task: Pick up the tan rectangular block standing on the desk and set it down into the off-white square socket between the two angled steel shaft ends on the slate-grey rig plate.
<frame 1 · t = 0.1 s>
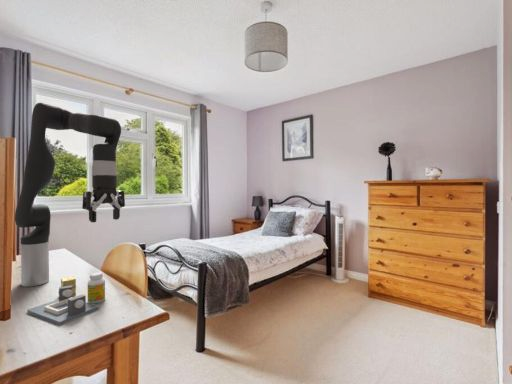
hand: (105, 220, 96), 29 cm above the table, tool pointing down, fingers open, 8 cm apart
supplement bottle: (96, 301, 99), on the table
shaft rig: (63, 310, 90), on the table
tan rectangular block: (68, 294, 104), on the table
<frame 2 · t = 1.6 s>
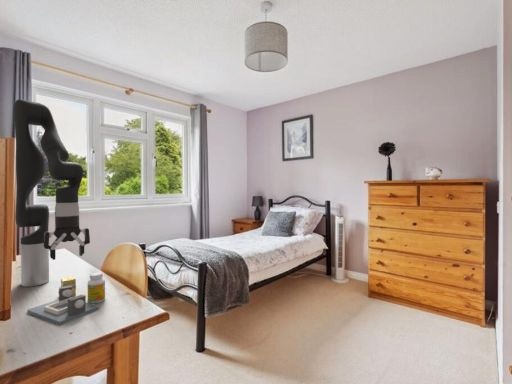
hand: (67, 257, 104), 14 cm above the table, tool pointing down, fingers open, 8 cm apart
nothing on the table moved.
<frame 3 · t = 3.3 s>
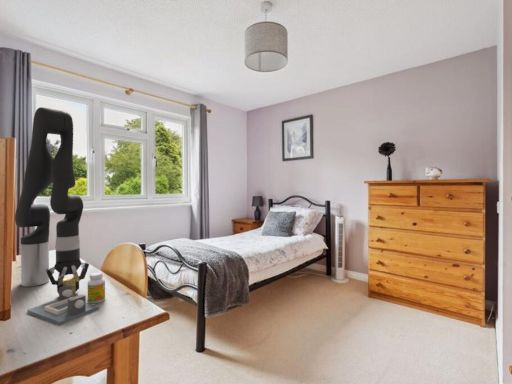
hand: (68, 292, 104), 1 cm above the table, tool pointing down, fingers closed on tan rectangular block, 4 cm apart
tan rectangular block: (68, 294, 104), on the table, touching gripper
everything else where it was.
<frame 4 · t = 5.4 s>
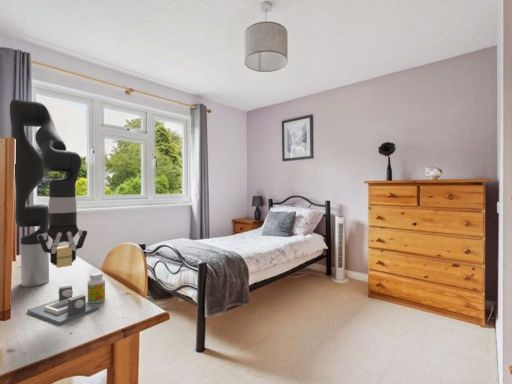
hand: (63, 262, 90), 16 cm above the table, tool pointing down, fingers closed on tan rectangular block, 4 cm apart
tan rectangular block: (63, 265, 90), point 15 cm above the table, touching gripper
everything else where it was.
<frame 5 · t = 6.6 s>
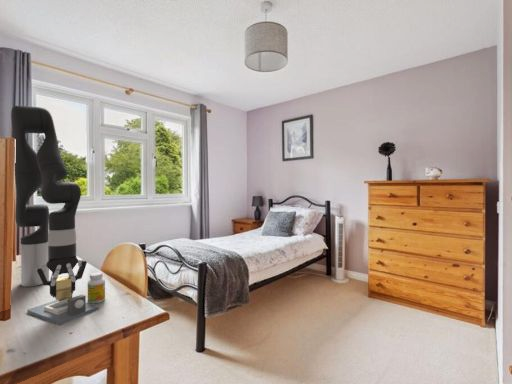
hand: (62, 294, 90), 6 cm above the table, tool pointing down, fingers closed on tan rectangular block, 4 cm apart
tan rectangular block: (62, 296, 90), point 5 cm above the table, touching gripper
everything else where it was.
when the fingers open (3 cm above the table, at t = 7.3 s): tan rectangular block drops 2 cm, resting on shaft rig.
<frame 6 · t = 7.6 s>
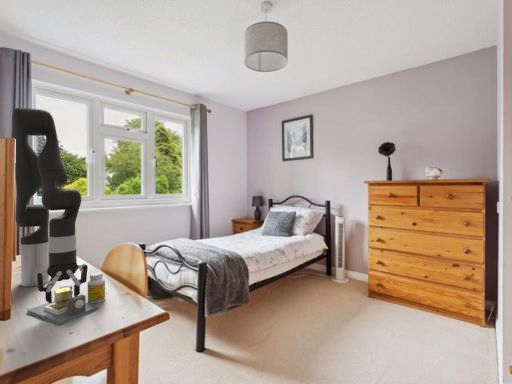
hand: (63, 299, 90), 4 cm above the table, tool pointing down, fingers open, 6 cm apart
tan rectangular block: (63, 308, 90), point 1 cm above the table, touching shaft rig
everything else where it was.
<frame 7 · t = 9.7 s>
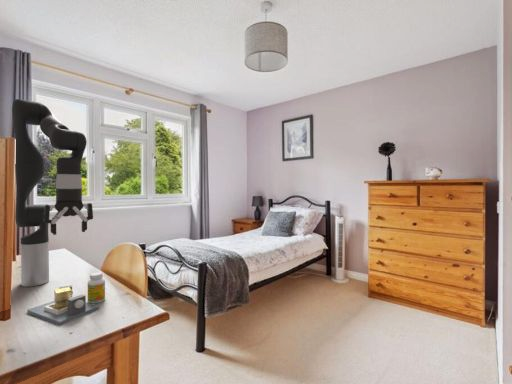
hand: (69, 233, 97), 25 cm above the table, tool pointing down, fingers open, 8 cm apart
nothing on the table moved.
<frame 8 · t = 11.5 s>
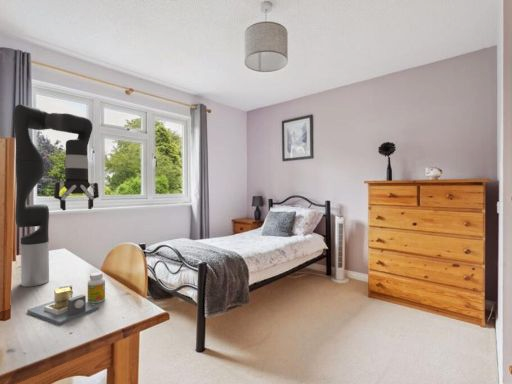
hand: (77, 209, 106), 32 cm above the table, tool pointing down, fingers open, 8 cm apart
nothing on the table moved.
at the end: tan rectangular block 0.1 cm off-centre on the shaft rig, point 1.0 cm above the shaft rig's base; tan rectangular block tilted 0°; the gripper is holding nothing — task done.
